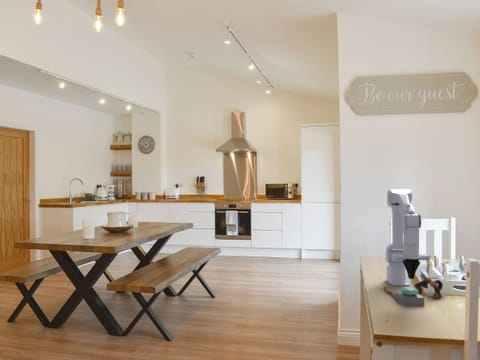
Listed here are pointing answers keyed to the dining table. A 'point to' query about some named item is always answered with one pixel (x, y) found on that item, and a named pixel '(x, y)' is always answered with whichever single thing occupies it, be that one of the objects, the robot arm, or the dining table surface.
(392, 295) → the rail
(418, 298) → the dome box
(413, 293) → the dome button
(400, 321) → the dining table surface
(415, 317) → the dining table surface
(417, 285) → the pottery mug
